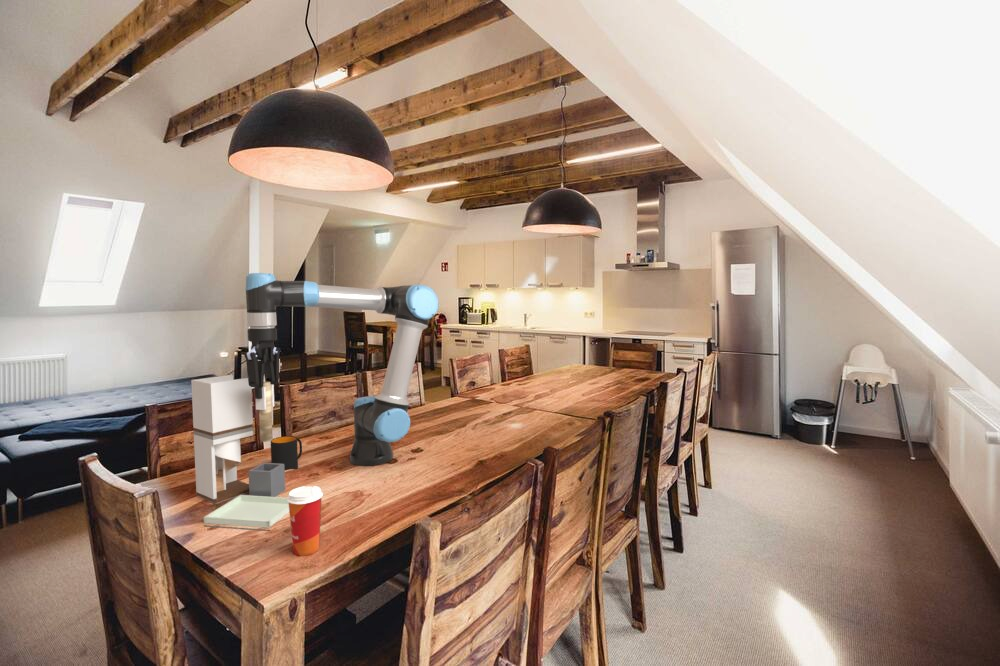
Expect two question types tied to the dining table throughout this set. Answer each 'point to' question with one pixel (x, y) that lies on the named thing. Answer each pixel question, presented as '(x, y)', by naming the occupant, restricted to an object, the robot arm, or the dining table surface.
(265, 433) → the dowel
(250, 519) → the tray
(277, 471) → the pen cup
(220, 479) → the white coffee maker
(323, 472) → the dining table surface
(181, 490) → the dining table surface
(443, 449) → the dining table surface
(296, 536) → the paper cup
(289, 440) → the mug
